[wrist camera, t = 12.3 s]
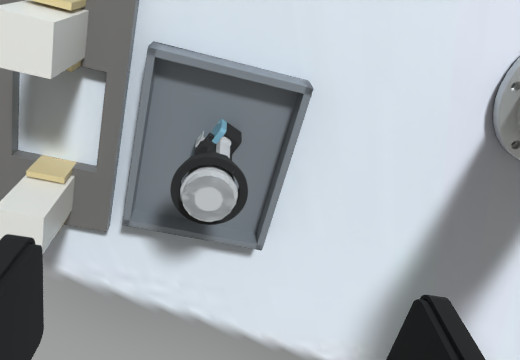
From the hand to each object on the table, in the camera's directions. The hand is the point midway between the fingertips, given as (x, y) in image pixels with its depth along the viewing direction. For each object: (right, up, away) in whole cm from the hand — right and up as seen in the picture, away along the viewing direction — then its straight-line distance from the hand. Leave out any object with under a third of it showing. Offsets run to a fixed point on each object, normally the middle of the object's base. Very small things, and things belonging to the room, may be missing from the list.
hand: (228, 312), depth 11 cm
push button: (-4, +6, +27) cm, 28 cm away
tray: (-3, +6, +28) cm, 29 cm away
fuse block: (-16, +9, +26) cm, 32 cm away
